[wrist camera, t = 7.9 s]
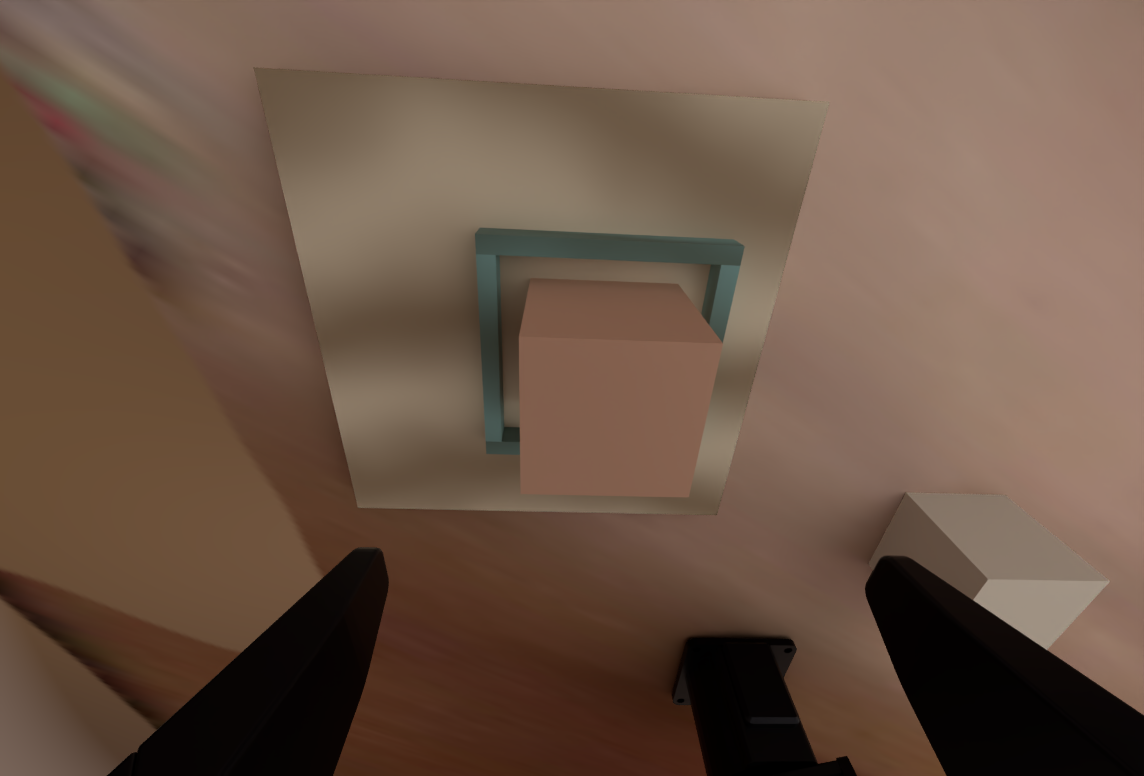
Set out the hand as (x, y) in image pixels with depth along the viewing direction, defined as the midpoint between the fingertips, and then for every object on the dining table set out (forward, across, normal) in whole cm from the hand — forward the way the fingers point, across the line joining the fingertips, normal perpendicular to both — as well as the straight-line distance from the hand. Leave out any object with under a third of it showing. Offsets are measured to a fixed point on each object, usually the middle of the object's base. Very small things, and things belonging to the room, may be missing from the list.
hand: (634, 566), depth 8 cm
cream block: (+11, -18, +10) cm, 24 cm away
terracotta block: (+10, 0, 0) cm, 10 cm away
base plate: (+11, +2, 0) cm, 11 cm away
